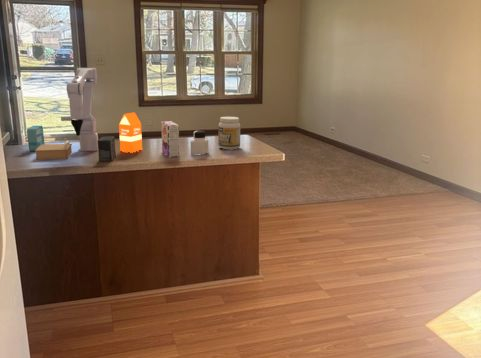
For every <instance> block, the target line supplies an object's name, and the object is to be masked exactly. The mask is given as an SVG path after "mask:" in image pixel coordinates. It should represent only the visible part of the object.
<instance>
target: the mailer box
mask: <svg viewBox="0 0 481 358" xmlns="http://www.w3.org/2000/svg"><path fill="white" fill-rule="evenodd" d="M72 150H73V149H72V146H71V147H70V148H69V149H68V151H43V152H35V155H36V160H37V161H39V160H40V161H41V160H43V161H45V160H68V159H69V158H70V156H71V155H72V152H73V151H72Z"/></svg>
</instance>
